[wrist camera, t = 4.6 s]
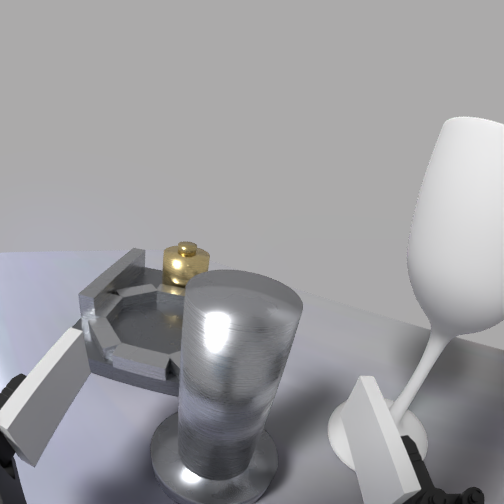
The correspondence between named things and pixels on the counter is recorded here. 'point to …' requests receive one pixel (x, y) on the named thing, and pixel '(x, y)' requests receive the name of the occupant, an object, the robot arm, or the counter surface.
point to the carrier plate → (139, 317)
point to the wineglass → (451, 256)
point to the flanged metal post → (226, 389)
